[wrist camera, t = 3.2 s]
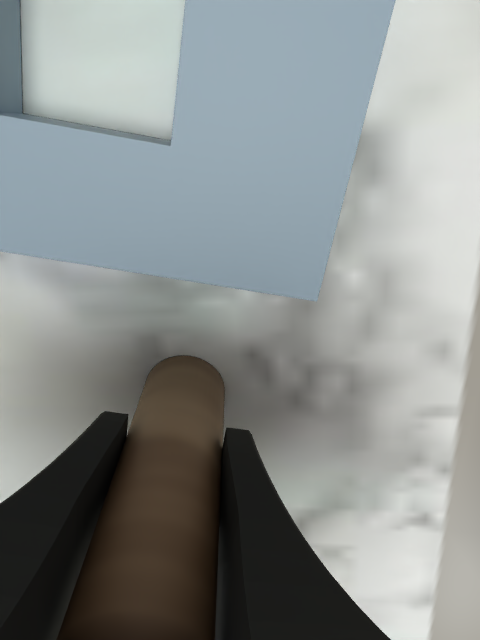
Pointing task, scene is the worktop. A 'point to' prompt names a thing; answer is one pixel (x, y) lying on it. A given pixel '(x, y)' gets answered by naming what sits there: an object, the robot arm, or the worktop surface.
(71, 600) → the walnut pin
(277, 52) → the hole plate
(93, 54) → the worktop surface
